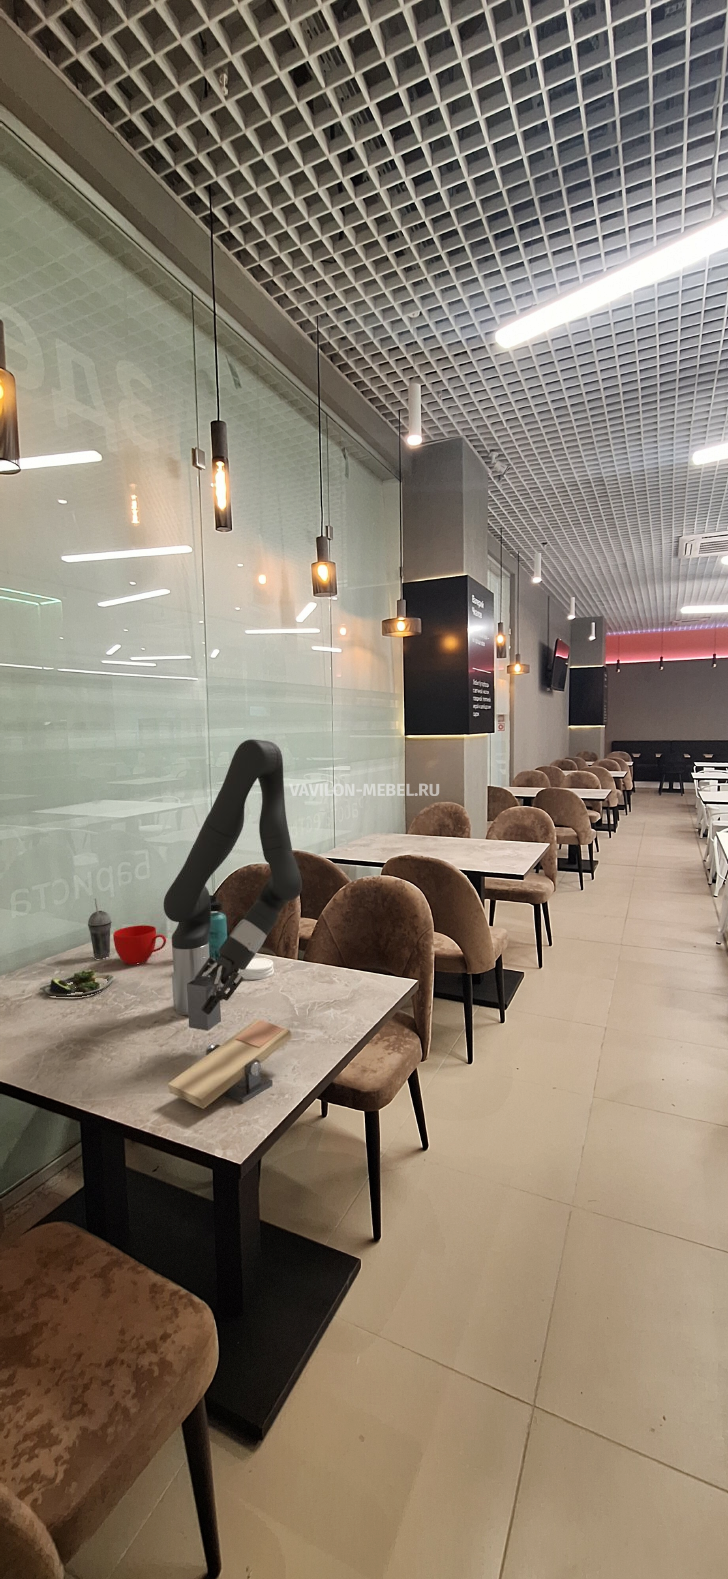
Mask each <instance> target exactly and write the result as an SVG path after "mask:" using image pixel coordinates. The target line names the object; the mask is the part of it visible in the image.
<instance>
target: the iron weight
mask: <svg viewBox="0 0 728 1579" xmlns="http://www.w3.org/2000/svg"><path fill="white" fill-rule="evenodd" d="M214 982H215V979H214V978H212V977H205V976H199V977H198V978H196V979H194V980H193V981H191V982H189V983H187V997H188V1015H187V1016H188V1027H189V1028H190V1029H195V1030H202V1031H207V1032H208V1031H210V1030H211V1029H213V1028H214V1027H215V1026H217V1025H218V1024H220V1023H221V1022H222V1014H221V1010H222V1009H221V1001H219V1002H218V1004H217V1005H216V1006H215V1008H214V1009H213V1011H212V1012H211V1013H210V1014H209V1015H208V1014H206V1013H205V1012H203V1011H202V1010H201V1009H202V1007H203V1005H204V1004H205V1003H206V1001H207V1000H208V998H209V997H210V996H211V995H212V996H213V991H214V988H215V985H214ZM219 991H220V989H219Z"/></svg>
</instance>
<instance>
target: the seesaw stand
mask: <svg viewBox="0 0 728 1579" xmlns="http://www.w3.org/2000/svg"><path fill="white" fill-rule="evenodd" d="M221 1045H222V1044H221ZM221 1045H220V1044H216V1045H213V1044H210V1045H208V1046H207V1048H206V1049H205V1056H207V1055H208V1054H209V1053H211V1052H212V1051H214V1050H215V1049H216V1048H218V1047H219V1046H221ZM261 1069H262V1066H261V1063H260V1060H257V1059H255V1060H254V1061H252V1062H250V1063H248V1064H246V1065H245V1076H244V1077H243V1078H241V1079H240V1080H239V1081H238V1082H236V1083H235V1084H234V1085H233V1086H231V1087H230V1088H229V1089H228V1090H226V1091H225V1092H224V1093H223V1094H222V1095H223V1096H225V1097H228V1098H230V1099H232V1100H235V1101H237V1102H239V1103H241V1104H244V1103H245V1102H247V1101H249V1100H250V1099H251V1100H252V1098H254V1097H255V1096H258V1095H259V1094H260V1093H262V1092H264V1091H266V1090H267V1089H269V1088H271V1087H272V1086H273V1079H270V1078H267V1077H266V1076H265V1077H264V1076H263V1075H261Z"/></svg>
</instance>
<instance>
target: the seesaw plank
mask: <svg viewBox="0 0 728 1579" xmlns="http://www.w3.org/2000/svg"><path fill="white" fill-rule="evenodd" d="M290 1040H292V1032H291V1029H289V1028H285V1027H283V1026H279V1025H276V1024H274V1023H271V1022H268V1021H264V1020H261V1019H258V1018H256V1019H255V1020H253V1021H251V1023H249V1024H248V1025H247V1026H245V1027H244V1028H242V1029H241V1030H240V1031H239V1032H237V1033H236V1034H234V1035H233V1036H232V1037H230V1038H229V1039H228V1040H226V1041H225V1042H223V1043H222V1044H221V1046H219V1047H218V1048H216V1049H215V1050H214V1051H212V1052H211V1053H209V1054H208V1055H207V1056H206V1055H205V1056H204V1057H203V1058H201V1059H200V1060H199V1061H197V1062H196V1063H193V1065H192V1066H190V1067H188V1069H186V1070H185V1071H183V1072H182V1073H180V1074H179V1075H178V1076H176V1077H175V1078H174V1079H172V1080H171V1081H170V1082H168V1083H167V1086H168V1090H169V1093H170V1094H172V1095H174V1096H176V1097H178V1098H181V1099H182V1100H184V1101H187V1102H188V1103H190V1104H191V1105H194V1106H197V1107H198V1108H201V1109H204V1110H205V1108H207V1106H210V1104H211V1103H213V1102H214V1101H215V1100H217V1099H218V1098H219V1097H220V1096H221V1095H223V1093H224V1092H225V1091H226V1090H228V1089H229V1088H230V1087H231V1086H233V1085H234V1084H235V1083H236V1082H238V1081H239V1080H240V1079H241V1078H243V1077H244V1076H245V1065H246V1064H248V1063H250V1062H252V1061H254V1060H255V1059H257V1060H260V1064H261V1063H263V1062H264V1061H265V1060H266V1059H268V1058H269V1057H270V1056H272V1054H274V1053H275V1052H276V1051H278V1050H279V1049H280V1048H281V1047H282V1046H284V1045H285V1044H287V1043H288V1042H289V1041H290Z"/></svg>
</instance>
